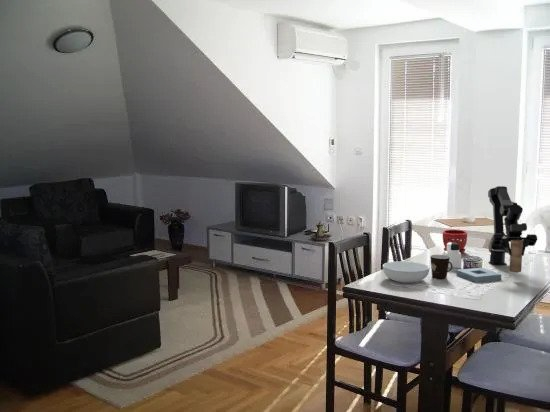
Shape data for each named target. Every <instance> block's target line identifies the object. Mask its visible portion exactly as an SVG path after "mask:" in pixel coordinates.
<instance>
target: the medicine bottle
mask: <svg viewBox="0 0 550 412" xmlns="http://www.w3.org/2000/svg"><path fill="white" fill-rule="evenodd" d="M443 251H444V250H443ZM462 254H463V253H462ZM462 254H461V253H460V252H459V244H458V243H455V242H449V243H447V251H444V253H443V255H446V256H449V257H450V258H449V262H451V263H452V269H457V268H458V269H460V268H462ZM449 268H450V269H451V264H450V263H449V265H448V269H449Z"/></svg>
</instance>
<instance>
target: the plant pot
mask: <svg viewBox="0 0 550 412" xmlns="http://www.w3.org/2000/svg"><path fill="white" fill-rule="evenodd" d="M467 241H468V232H467V231H466V230H461V229H446V230H443V231H442V244H443V246H444V247H443V251H447V243H449V242H455V243H458V244H459V252H460V253H461V254H463V253H465V252H466V248H465V247H466V246H467Z"/></svg>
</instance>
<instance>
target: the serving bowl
mask: <svg viewBox="0 0 550 412" xmlns="http://www.w3.org/2000/svg"><path fill="white" fill-rule="evenodd" d="M430 269H431V267H430V266H429V265H427V264H424V263H421V262H415V261H399V260H398V261H389V262H385V263H383V264H382V270H383V273H384V275H385V276H386V277H387V278H388V279H390V280H393V281H396V282H398V283H401V284H412V283H417V282H420V281H423V280H424V279H426V277H428V275H429V272H430Z"/></svg>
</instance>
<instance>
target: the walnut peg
mask: <svg viewBox="0 0 550 412" xmlns="http://www.w3.org/2000/svg"><path fill="white" fill-rule="evenodd" d="M510 249H511V256H510V255H509V272H512V273H521V272H522V265H523V264H522V263H523V256H522V249H523V241H522V240H511V242H510Z"/></svg>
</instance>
